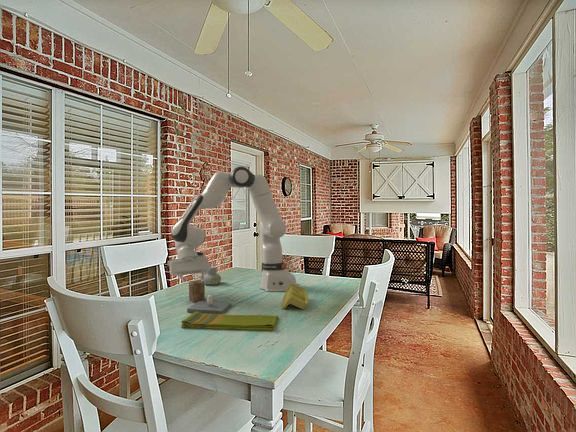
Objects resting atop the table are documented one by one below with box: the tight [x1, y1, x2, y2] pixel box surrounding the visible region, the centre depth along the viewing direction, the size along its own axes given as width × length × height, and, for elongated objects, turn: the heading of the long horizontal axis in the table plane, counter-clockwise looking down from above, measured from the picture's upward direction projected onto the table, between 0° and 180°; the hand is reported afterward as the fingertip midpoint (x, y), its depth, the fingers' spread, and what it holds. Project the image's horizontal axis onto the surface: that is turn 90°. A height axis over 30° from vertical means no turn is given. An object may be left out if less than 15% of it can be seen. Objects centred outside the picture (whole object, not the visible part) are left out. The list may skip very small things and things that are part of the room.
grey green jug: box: [202, 265, 222, 286], centre depth 197 cm, size 11×8×10 cm
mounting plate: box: [186, 294, 233, 314], centre depth 150 cm, size 16×12×6 cm
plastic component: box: [281, 283, 309, 310], centre depth 158 cm, size 20×7×10 cm
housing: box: [188, 279, 206, 303], centre depth 164 cm, size 6×6×9 cm
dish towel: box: [180, 312, 279, 332], centre depth 134 cm, size 15×36×3 cm, turn 84°
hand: (193, 280), depth 168 cm, fingers open, 8 cm apart
